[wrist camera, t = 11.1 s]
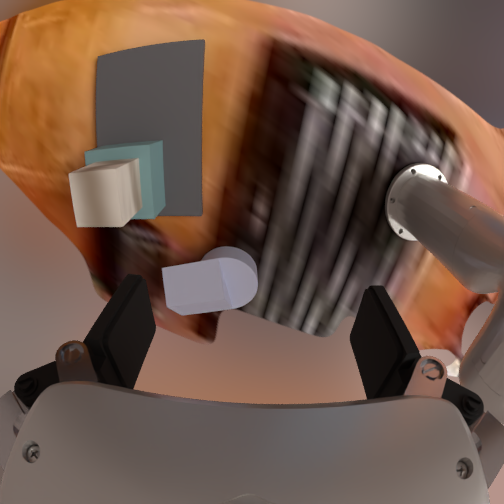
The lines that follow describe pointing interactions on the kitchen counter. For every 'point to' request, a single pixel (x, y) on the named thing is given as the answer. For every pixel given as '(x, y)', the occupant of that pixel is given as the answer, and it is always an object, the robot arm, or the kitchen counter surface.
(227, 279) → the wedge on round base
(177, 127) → the mat
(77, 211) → the cream cube
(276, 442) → the robot arm
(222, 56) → the kitchen counter surface
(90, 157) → the plinth
